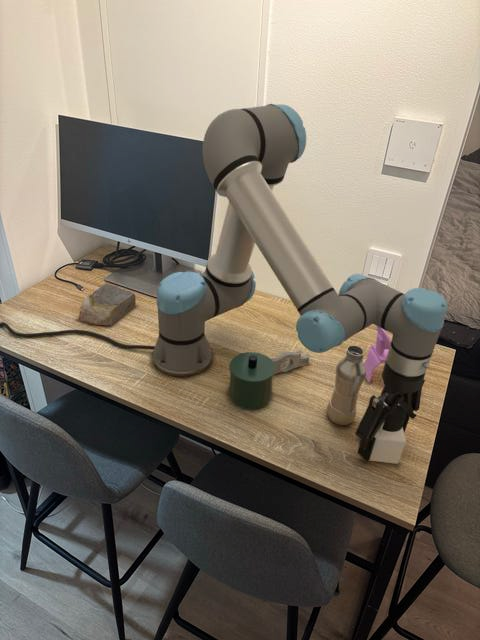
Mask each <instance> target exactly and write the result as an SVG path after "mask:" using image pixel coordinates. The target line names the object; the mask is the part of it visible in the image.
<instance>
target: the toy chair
mask: <svg viewBox="0 0 480 640" xmlns="http://www.w3.org/2000/svg"><path fill="white" fill-rule="evenodd" d="M376 332H377V333H376V340H375V341H376V342H375V343H374V344H371V345H370V346H371V347H369V349H368V352H367V356H366V360H365V361H364V362H363V363H364V365H365V367H366V376H365V379H366V381H367V382H368V383H371V380H372V376H373V374H374V371H375V370H376V368H377V367H379V366H380V365H381V364H385V362H386V357H387V354H388V351H389V348H390V344H391V341H392V339H391V338H390V336H389V334H388V331H386V330H384V329H382V328H380V327H378V326H376Z"/></svg>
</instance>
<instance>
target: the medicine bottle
mask: <svg viewBox="0 0 480 640" xmlns="http://www.w3.org/2000/svg"><path fill="white" fill-rule="evenodd" d="M383 403H384V404H385V405H386V406H387V407H389V408H390V406H389V405H387V404H386V403H385V402H383ZM405 418H406V413H405V411H404V410H403V408H402V407H400V406H399V404H398V405H397V407H396V408H395V410H394V411H393V413H389V415H388V416H387V418H386V419H385V421H384V422H383V424H382V425H381V427H380V429H379V430H378V432H377V433H376V435H375V436H374V437H375V438H376V440H375V443H374V447H373V450H372V453H371V456H370V460H368V462H379V463H387V464H394V465H397V464H399V462H400V459H401V457H402V454H403V451H404V448H405V445H406V443H407V439H406V434H405V432H404V431H403V424H404V421H405Z"/></svg>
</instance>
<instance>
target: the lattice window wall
mask: <svg viewBox="0 0 480 640" xmlns="http://www.w3.org/2000/svg"><path fill="white" fill-rule="evenodd" d="M311 357H312V356H311V354H310V353H308V352H307V353H304V352H303V350H302V349H301V348H300V349H297V350H294V351H292V350H283V351H282V352H281V353H279V354H278V355H275V356H272V357H271V356H270V357H269V358H270V359H271V360H272V361H273V362H274V364H275V373H274V375H276V374H279V373H280V374H281V373H287V372H289V371H291V370H293V369H296V368H300V367H303V366H307V365H309V363H310V358H311Z"/></svg>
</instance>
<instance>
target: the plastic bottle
mask: <svg viewBox="0 0 480 640" xmlns="http://www.w3.org/2000/svg"><path fill="white" fill-rule="evenodd" d="M364 355H365V350H364V349H363V348H362V347H361V346H359V345H354V344H352V345H348V346H347V347H346V350H345V354H344V357H343V358H341V359H340V360H339V361H338V362H337V364H336V365H335V366H336V367H335V381H334V387H333V392H332V394H331V397H330V399H329V401H328V404H327V406H326V415H327V417H328V418H329V420H330V421H331V422H332V423H333V424H336V425H338V426H339V425H340V426H347V425H349V424H352V422H353V421H354V419H355V418H356V416H357V403H358V397H359V393H360V390H361V387H362V385H363V383H364V382H365V379H366V377H365V376H366V367H365V365H364V363H365V362H363V361H364Z"/></svg>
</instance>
